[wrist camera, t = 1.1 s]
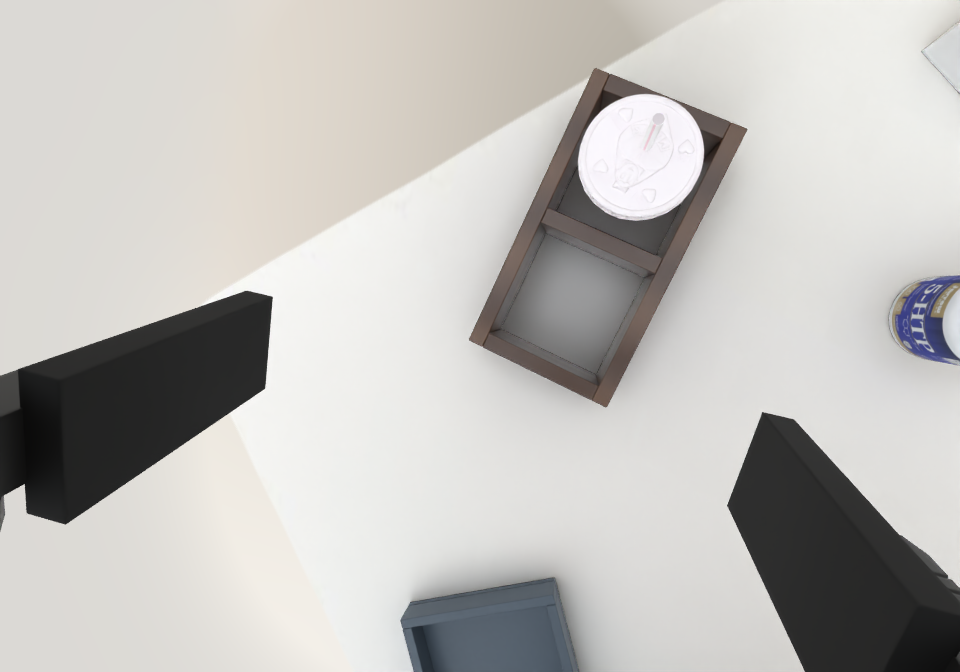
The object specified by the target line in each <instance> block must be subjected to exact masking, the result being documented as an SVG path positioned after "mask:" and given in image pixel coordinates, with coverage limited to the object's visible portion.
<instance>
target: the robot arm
mask: <svg viewBox="0 0 960 672" xmlns="http://www.w3.org/2000/svg"><path fill="white" fill-rule="evenodd" d="M272 299H273V297H271V296H267V295H263V294H259V293H254V292H250V291H244V292H241V293H238V294H236V295H233V296H230V297H227V298H224V299H221V300H218V301H215V302H212V303H209V304H207V305H204V306H201V307H198V308H195V309H192V310H189V311H186V312H183V313H180V314H178V315H175V316H172V317H169V318H166V319H163V320H160V321H157V322H154V323H151V324H149V325H146V326H143V327H140V328H137V329H134V330H131V331H128V332H125V333H122V334H119V335H117V336H114V337H111V338H108V339H105V340H102V341H99V342H96V343H93V344H90V345H88V346H85V347H82V348H79V349H76V350H73V351H70V352H67V353H64V354H61V355H58V356H55V357H53V358H50V359H47V360H44V361H41V362H38V363H35V364H32V365H30V366H26V367H24V368H21V369H18V370H16V371H13V372H10V373H7V374H4V375H2V376H0V530H1V526H2V523H3V520H4V516H5V509H4V495H5V494H7V493H9V492H11V491H13V490H14V489H16V488H18V487H20V486H22V485H23V484H25V493H26V510H27V513H28V514H31V515H34V516H38V517H41V518H45V519H48V520H52V521H55V522H59V523H62V524H67V523H69V522H70V521H72V520H73V519H74V518H76V517H77V516H79V515H80V514H82V513H83V512H85V511H86V510H88V509H89V508H91V507H92V506H93V505H95V504H96V503H98V502H99V501H101V500H102V499H104V498H105V497H107V496H108V495H110V494H111V493H113V492H114V491H116V490H117V489H118V488H120V487H121V486H123V485H124V484H126V483H127V482H129V481H130V480H132V479H133V478H135V477H136V476H138V475H139V474H140V473H142V472H143V471H145V470H146V469H147V468H149V467H151V466H152V465H154V464H155V463H157V462H158V461H160V460H161V459H163V458H164V457H165V456H167V455H168V454H170V453H171V452H173V451H174V450H176V449H177V448H179V447H180V446H182V445H183V444H184V443H186V442H187V441H189V440H190V439H192V438H193V437H195V436H196V435H198V434H199V433H201V432H202V431H203V430H205V429H207V428H208V427H209V426H211V425H212V424H214V423H215V422H217V421H218V420H220V419H221V418H223V417H224V416H225V415H227V414H229V413H230V412H231V411H233V410H234V409H236V408H237V407H239V406H240V405H242V404H243V403H245V402H246V401H248V400H249V399H251V398H252V397H253V396H255V395H256V394H258V393H259V392H261V391H262V390H264V389H265V384H266V372H267V360H268V348H269V335H270V323H271V311H272ZM727 506H728V508H729V510H730V512H731V515H732V517H733V519H734V521H735V523H736V525H737V527H738V529H739V532H740V534H741V536H742V538H743V540H744V542H745V544H746V547H747V549H748V551H749V553H750V555H751V557H752V559H753V562H754V564H755V566H756V568H757V570H758V572H759V574H760V576H761V579H762V581H763V583H764V585H765V587H766V589H767V591H768V594H769V596H770V598H771V600H772V602H773V604H774V606H775V609H776V611H777V613H778V615H779V617H780V619H781V621H782V623H783V626H784V628H785V630H786V632H787V634H788V636H789V638H790V641H791V643H792V645H793V647H794V649H795V651H796V653H797V655H798V658H799V660H800V662H801V664H802V666H803V668H804V670H805V672H960V588H959V587H958V586H957V585H956V584H955V583H954V582H953V581H952V580H950V579H948V575H947V574H946V573H945V572H944V571H943V570H942V569H941V568H940V567H939V566H938V565H937V564H936V563H935V561H934V560H933V559H932V558H931V557H930V556H929V555H927V554H926V553H925V552H923V551H922V550H921V549H919V548H918V547H916V546H915V545H914V544H912V543H911V542H910V541H908V540H907V539H906V538H904V537H903V536H901V535H899V534H898V533H897V532H896V531H895V530H894V529H893V528H892V526H891V525H890V524H889V523H888V522H887V521H886V520H885V519H884V518H883V517H882V516H881V514H880V513H879V512H878V511H877V510H876V509H875V508H874V507H873V506H872V505H871V503H870V502H869V501H868V500H867V499H866V498H865V497H864V496H863V495H862V494H861V492H860V491H859V490H858V489H857V488H856V487H855V486H854V485H853V484H852V483H851V482H850V480H849V479H848V478H847V477H846V476H845V475H844V474H843V473H842V472H841V471H840V469H839V468H838V467H837V466H836V465H835V464H834V463H833V462H832V461H831V460H830V458H829V457H828V456H827V455H826V454H825V453H824V452H823V451H822V450H821V449H820V448H819V446H818V445H817V444H816V443H815V442H814V441H813V440H812V439H811V438H810V437H809V435H808V434H807V433H806V432H805V431H804V430H803V429H802V428H801V427H800V426H799V424H798V423H797V422H796V421H795V420H794V419H790V418H785V417H781V416H777V415H773V414H768V413H764V412H762V415H761V418H760V420H759V423H758V426H757V428H756V431H755V434H754V436H753V439H752V441H751V444H750V447H749V449H748V452H747V455H746V457H745V460H744V463H743V465H742V468H741V471H740V473H739V476H738V479H737V481H736V484H735V486H734V489H733V492H732V494H731V497H730V500H729V502H728V505H727Z"/></svg>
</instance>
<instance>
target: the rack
mask: <svg viewBox="0 0 960 672" xmlns="http://www.w3.org/2000/svg"><path fill="white" fill-rule="evenodd" d="M639 94H652V95H658V96H662V97H665V98H668V99H670V100H673V101H675V102H676V103H678V104H679V105H681V106H682V107H683V108H685V109H686V110H687V111H688V112H689V113H690V115H691V116H692V117H693V118H694V120H695V121H696V123H697V125H698V127H699V129H700V132H701V135H702V138H703V144H704V159H703V165H702V169H701V172H700V175H699V177H698V179H697V181H696V183H695V185H694V186H693V189H692V190H691V192H690V193H689V194H688V195H687V196H686V198H685V199H684V200H683V202H682V204H681V206H680V208H679V210H678V212H677V214H676V216H675V218H674V220H673V222H672V224H671V226H670V228H669V230H668V232H667V234H666V236H665V238H664V240H663V242H662V244H661V246H660V248H659V250H658V252H657V254H656V255H654V254H652V253H649V252H647V251H645V250H643V249H640V248H638V247H636V246H634V245H631V244H629V243H627V242H625V241H622V240H620V239H618V238H616V237H613V236H611V235H609V234H607V233H604V232H602V231H600V230H598V229H595V228H593V227H591V226H589V225H586V224H584V223H582V222H580V221H577V220H575V219H573V218H571V217H568V216H566V215H564V214H562V213H559V212H557V211H556V210H557V208H558V206H559V204H560V202H561V200H562V198H563V195H564V193H565V191H566V189H567V187H568V185H569V183H570V181H571V178H572V176H573V174H574V172H575V170H576V168H577V166H578V157H579V151H580V145H581V143H582V140H583V137H584V135H585V132H586V130H587V128H588V127H589V125H590V124H591V122H592V121H593V120H594V118H595V117H596V116H597V115H598V114H599V113H600V112H601V111H602V110H603V109H605V108H606V107H607V106H609V105H610V104H612V103H614V102H615V101H618V100H620V99H622V98H625V97H628V96H632V95H639ZM746 131H747V129H746V128H744V127H741V126H739V125H736V124H734V123H731V122H729V121H726V120H724V119H721V118H719V117H717V116H714V115H712V114H709V113H707V112H704V111H702V110H699V109H697V108H694V107H692V106H689V105H687V104H684V103H682V102H679V101H677V100H674V99H672V98H669V97H667V96H664V95H662V94H659V93H657V92H654V91H652V90H649V89H647V88H644V87H642V86H640V85H637V84H635V83H632V82H630V81H627V80H625V79H622V78H620V77H617V76H615V75H612V74H609V73H607V72H604V71H602V70H599V69H597V68H595V69H594V70H593V72H592V75H591V77H590V79H589V81H588V83H587V85H586V88H585V90H584V92H583V94H582V96H581V98H580V101H579V103H578V105H577V107H576V109H575V111H574V113H573V116H572V118H571V120H570V122H569V124H568V126H567V129H566V131H565V133H564V135H563V137H562V139H561V142H560V144H559V146H558V148H557V150H556V152H555V155H554V157H553V159H552V161H551V163H550V165H549V168H548V170H547V172H546V174H545V176H544V178H543V180H542V183H541V185H540V187H539V189H538V191H537V193H536V196H535V198H534V200H533V202H532V204H531V206H530V209H529V211H528V213H527V215H526V217H525V219H524V222H523V224H522V226H521V228H520V230H519V232H518V235H517V237H516V239H515V241H514V243H513V245H512V247H511V250H510V252H509V254H508V256H507V258H506V260H505V263H504V265H503V267H502V269H501V271H500V273H499V276H498V278H497V280H496V282H495V284H494V286H493V289H492V291H491V293H490V295H489V297H488V299H487V302H486V304H485V306H484V308H483V310H482V312H481V314H480V317H479V319H478V321H477V323H476V325H475V327H474V330H473V332H472V334H471V336H470V338H469V340H470V341H471V342H473V343H475V344H478V345H480V346H483V348H486V349H488V350H490V351H492V352H494V353H496V354H498V355H500V356H502V357H504V358H506V359H508V360H510V361H512V362H514V363H516V364H518V365H520V366H522V367H524V368H526V369H528V370H531V371H533V372H535V373H537V374H539V375H541V376H543V377H545V378H547V379H549V380H551V381H553V382H555V383H557V384H559V385H561V386H563V387H565V388H567V389H569V390H571V391H574V392H576V393H578V394H580V395H582V396H584V397H586V398H588V399H590V400H592V401H594V402H596V403H598V404H600V405H602V406H604V407H607V406H608V404H609V402H610V400H611V398H612V396H613V394H614V392H615V390H616V388H617V386H618V384H619V382H620V380H621V378H622V376H623V374H624V372H625V370H626V368H627V366H628V364H629V362H630V360H631V358H632V356H633V354H634V352H635V351H636V349H637V347H638V345H639V343H640V341H641V339H642V337H643V335H644V333H645V331H646V329H647V327H648V325H649V323H650V321H651V319H652V317H653V315H654V313H655V311H656V309H657V307H658V305H659V303H660V301H661V299H662V297H663V295H664V293H665V291H666V289H667V287H668V285H669V283H670V281H671V279H672V277H673V275H674V273H675V272H676V270H677V268H678V266H679V264H680V262H681V260H682V258H683V256H684V254H685V252H686V250H687V248H688V246H689V244H690V242H691V240H692V238H693V236H694V234H695V232H696V230H697V228H698V226H699V224H700V222H701V220H702V218H703V216H704V214H705V212H706V210H707V208H708V206H709V204H710V202H711V200H712V198H713V196H714V194H715V193H716V191H717V189H718V187H719V185H720V183H721V181H722V179H723V177H724V175H725V173H726V171H727V169H728V167H729V165H730V163H731V161H732V159H733V157H734V155H735V153H736V151H737V149H738V147H739V145H740V143H741V141H742V139H743V137H744V135H745V133H746ZM545 234H548V235H551V236H553V237H555V238H557V239H559V240H562V241H564V242H566V243H568V244H571V245H573V246H575V247H577V248H579V249H582V250H584V251H586V252H588V253H591V254H593V255H595V256H597V257H599V258H602V259H604V260H606V261H608V262H611V263H613V264H615V265H617V266H619V267H622V268H624V269H626V270H628V271H630V272H633V273H635V274H637V275H639V276H642V277H645V278H644V280H643V282H642V284H641V286H640V288H639V290H638V292H637V294H636V296H635V298H634V300H633V302H632V304H631V306H630V308H629V310H628V312H627V314H626V316H625V318H624V320H623V322H622V324H621V326H620V328H619V330H618V332H617V334H616V336H615V338H614V340H613V342H612V344H611V346H610V348H609V350H608V352H607V354H606V356H605V358H604V360H603V362H602V364H601V366H600V368H599V370H598V372H597V374H596V375H595V374H594V373H591V372H589V371H587V370H585V369H583V368H581V367H579V366H577V365H575V364H573V363H571V362H569V361H567V360H564V359H562V358H560V357H558V356H556V355H554V354H552V353H550V352H548V351H546V350H544V349H542V348H540V347H537V346H535V345H533V344H531V343H529V342H527V341H525V340H523V339H521V338H519V337H517V336H515V335H513V334H510V333H508V332H506V331H504V330H502V329H501V328H502V325H503V323H504V321H505V319H506V317H507V315H508V313H509V310H510V308H511V306H512V304H513V302H514V300H515V298H516V296H517V293H518V291H519V289H520V287H521V285H522V283H523V281H524V279H525V276H526V274H527V272H528V270H529V268H530V266H531V264H532V261H533V259H534V257H535V255H536V253H537V251H538V249H539V247H540V244H541V242H542V240H543V238H544V236H545Z"/></svg>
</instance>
